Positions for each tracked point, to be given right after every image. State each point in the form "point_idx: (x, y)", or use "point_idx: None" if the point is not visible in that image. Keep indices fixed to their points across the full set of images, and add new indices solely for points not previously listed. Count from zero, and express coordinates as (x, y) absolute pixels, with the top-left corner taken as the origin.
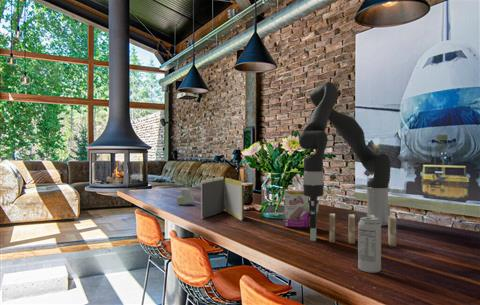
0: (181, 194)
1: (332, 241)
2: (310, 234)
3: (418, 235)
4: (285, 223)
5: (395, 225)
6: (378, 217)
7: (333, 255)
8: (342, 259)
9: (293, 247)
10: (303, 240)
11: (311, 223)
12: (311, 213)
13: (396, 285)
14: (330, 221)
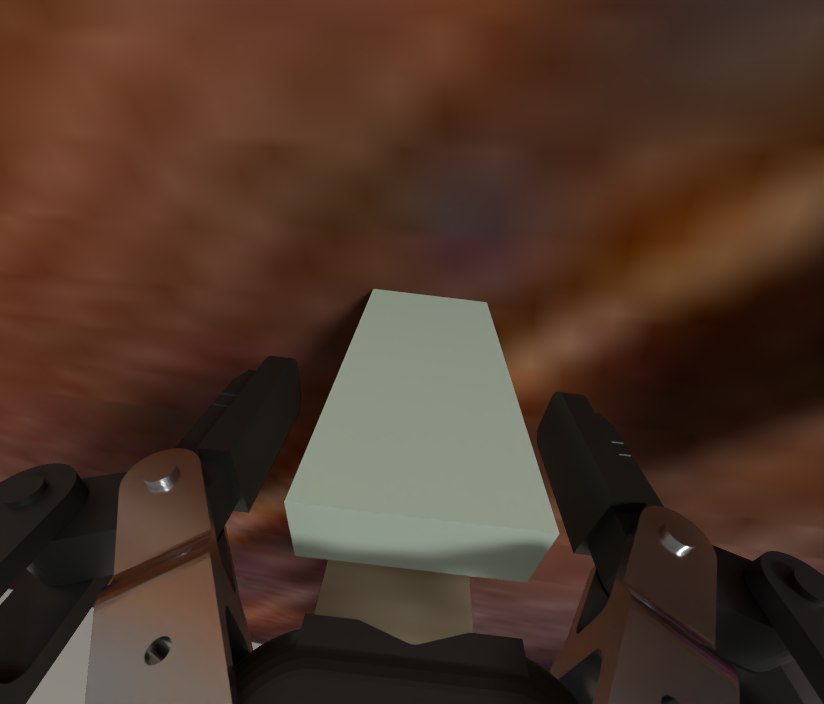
0: None
1: None
2: (361, 317)
3: (536, 650)
4: None
5: None
6: (807, 680)
7: (73, 387)
8: (31, 413)
9: (88, 110)
10: (400, 229)
11: (217, 404)
12: (449, 529)
13: None
14: (329, 562)
